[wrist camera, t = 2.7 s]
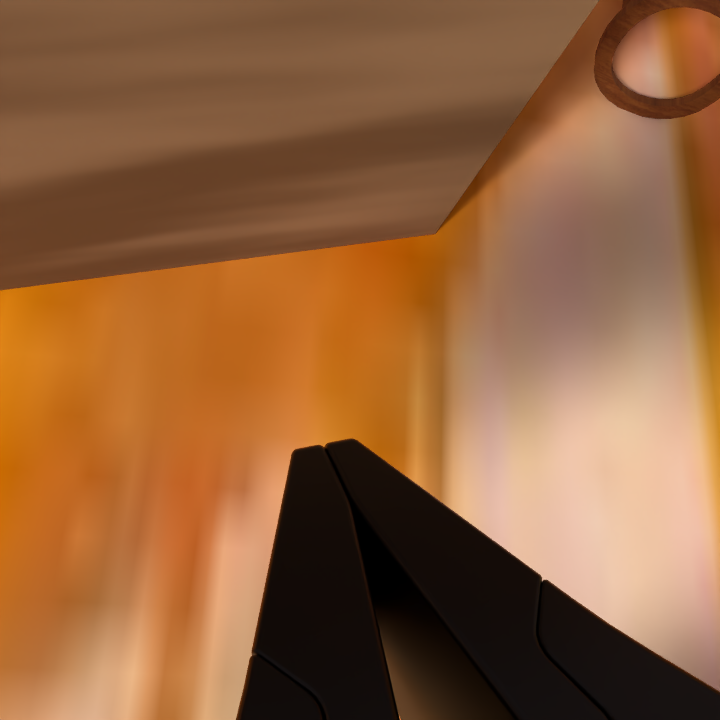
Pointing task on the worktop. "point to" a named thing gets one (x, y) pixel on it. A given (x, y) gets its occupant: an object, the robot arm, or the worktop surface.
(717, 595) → the worktop surface
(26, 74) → the t block
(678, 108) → the glasses
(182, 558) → the worktop surface
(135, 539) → the worktop surface
